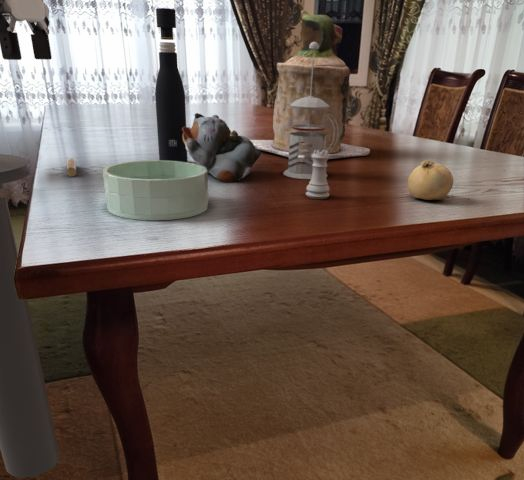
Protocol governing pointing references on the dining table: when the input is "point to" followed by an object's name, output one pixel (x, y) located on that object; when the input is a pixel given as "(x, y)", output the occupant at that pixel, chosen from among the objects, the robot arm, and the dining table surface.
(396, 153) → the dining table surface
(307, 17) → the cookie jar
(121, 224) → the dining table surface
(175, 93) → the black water bottle
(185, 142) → the lucky cat figurine
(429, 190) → the onion
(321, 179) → the rook chess piece
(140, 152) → the dining table surface
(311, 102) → the french press
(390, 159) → the dining table surface
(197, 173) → the bowl
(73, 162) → the stick
